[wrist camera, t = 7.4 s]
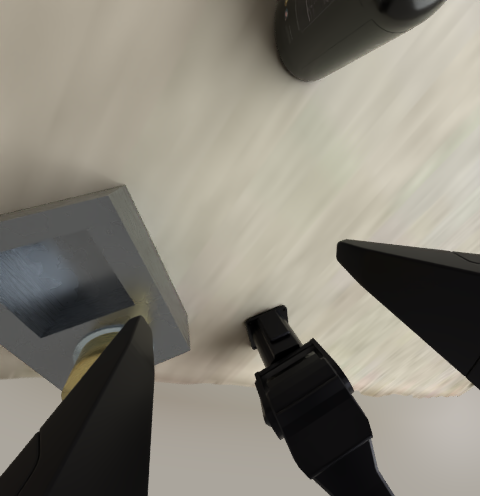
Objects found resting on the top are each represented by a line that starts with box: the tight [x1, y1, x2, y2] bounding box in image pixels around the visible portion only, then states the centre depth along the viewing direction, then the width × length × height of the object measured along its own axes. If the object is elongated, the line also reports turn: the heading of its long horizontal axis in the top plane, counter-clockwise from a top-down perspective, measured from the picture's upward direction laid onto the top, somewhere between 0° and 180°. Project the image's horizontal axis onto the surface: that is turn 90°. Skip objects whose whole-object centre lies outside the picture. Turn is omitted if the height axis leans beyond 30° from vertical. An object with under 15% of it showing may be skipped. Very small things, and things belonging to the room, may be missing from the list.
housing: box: [0, 185, 190, 391], centre depth 16 cm, size 16×11×5 cm
